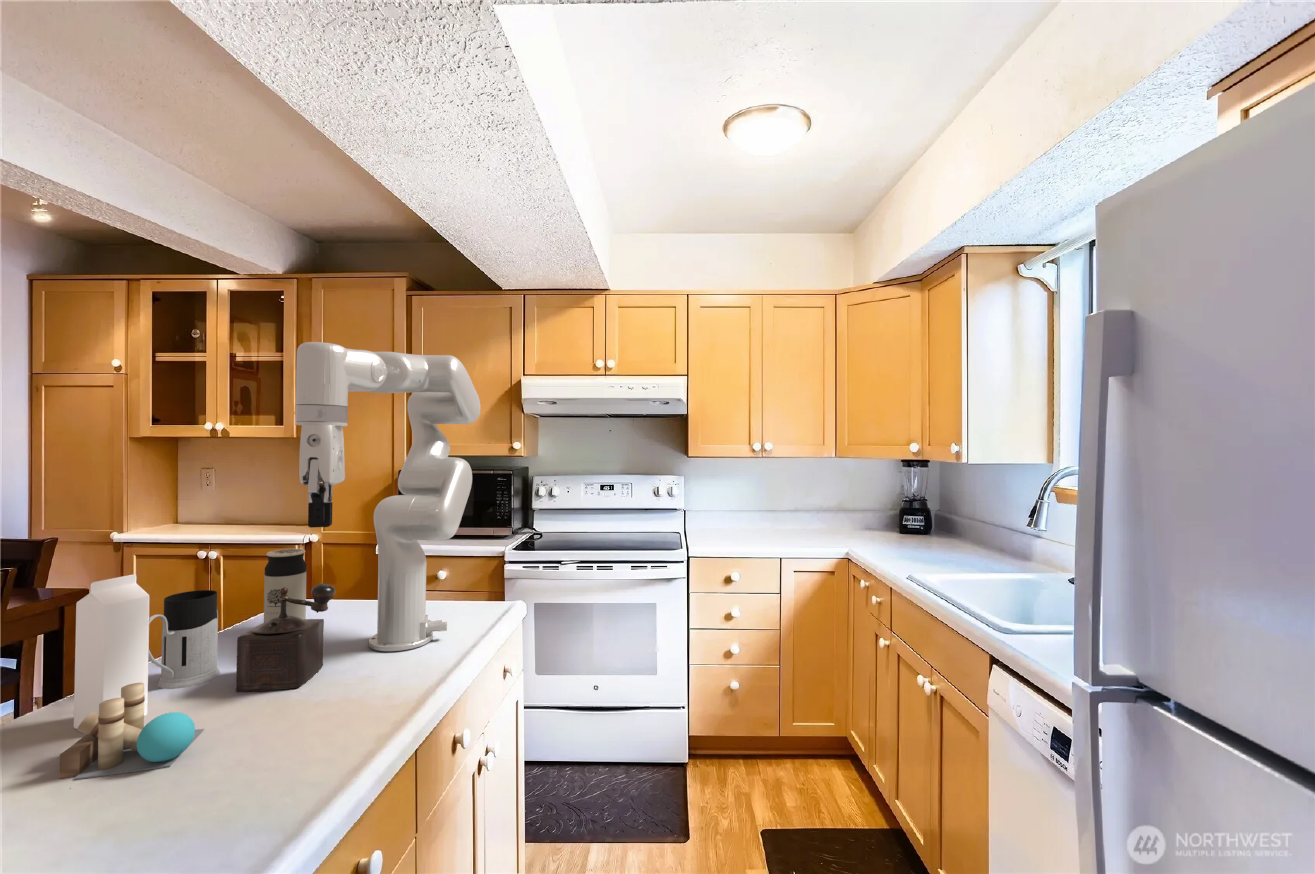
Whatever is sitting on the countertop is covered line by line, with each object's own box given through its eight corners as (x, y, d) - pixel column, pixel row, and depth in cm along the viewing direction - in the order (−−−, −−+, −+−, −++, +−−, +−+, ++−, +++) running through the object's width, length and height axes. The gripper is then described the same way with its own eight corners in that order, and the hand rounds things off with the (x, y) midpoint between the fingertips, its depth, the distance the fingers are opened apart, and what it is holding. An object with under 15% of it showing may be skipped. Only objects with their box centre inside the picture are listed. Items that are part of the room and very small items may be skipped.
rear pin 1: (127, 759, 76) (129, 696, 76) (116, 769, 74) (117, 704, 74) (104, 762, 76) (105, 698, 76) (92, 772, 73) (93, 707, 73)
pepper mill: (230, 694, 96) (232, 588, 96) (265, 668, 107) (267, 573, 107) (328, 689, 98) (330, 586, 99) (352, 664, 109) (354, 571, 110)
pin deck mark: (203, 729, 84) (203, 728, 84) (169, 766, 75) (169, 765, 75) (120, 740, 81) (120, 738, 81) (73, 779, 72) (73, 778, 72)
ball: (130, 731, 77) (178, 741, 81) (119, 768, 72) (171, 776, 76) (161, 697, 77) (208, 708, 81) (153, 731, 73) (202, 741, 76)
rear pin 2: (148, 740, 81) (148, 681, 81) (137, 749, 79) (138, 688, 79) (126, 743, 80) (127, 683, 80) (115, 752, 78) (116, 691, 78)
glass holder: (231, 668, 107) (233, 589, 107) (169, 702, 93) (171, 611, 93) (184, 668, 107) (185, 589, 107) (114, 703, 92) (116, 611, 93)
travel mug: (283, 624, 133) (284, 547, 133) (313, 625, 132) (314, 548, 132) (254, 635, 125) (255, 554, 125) (286, 637, 124) (288, 555, 124)
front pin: (161, 731, 80) (97, 708, 77) (152, 740, 77) (85, 716, 75) (150, 748, 79) (85, 725, 77) (140, 757, 77) (72, 734, 75)
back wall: (120, 740, 81) (121, 719, 81) (79, 775, 73) (79, 752, 73) (103, 742, 81) (103, 721, 81) (59, 778, 72) (59, 754, 72)
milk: (73, 729, 84) (74, 581, 84) (120, 710, 90) (121, 572, 90) (102, 734, 83) (104, 584, 83) (149, 714, 89) (150, 574, 89)
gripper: (337, 416, 89) (335, 532, 88) (355, 419, 103) (354, 519, 103) (281, 414, 86) (279, 534, 86) (309, 418, 101) (307, 521, 100)
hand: (320, 526), depth 94 cm, fingers closed
